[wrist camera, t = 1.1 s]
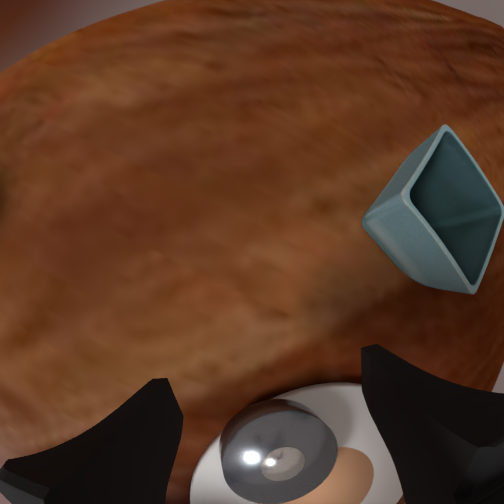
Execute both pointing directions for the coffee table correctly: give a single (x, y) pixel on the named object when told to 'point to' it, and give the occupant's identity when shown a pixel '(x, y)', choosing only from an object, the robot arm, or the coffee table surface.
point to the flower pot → (438, 216)
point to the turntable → (347, 463)
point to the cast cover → (276, 451)
